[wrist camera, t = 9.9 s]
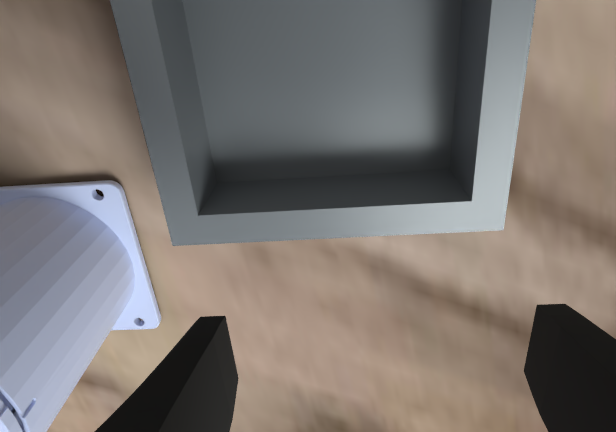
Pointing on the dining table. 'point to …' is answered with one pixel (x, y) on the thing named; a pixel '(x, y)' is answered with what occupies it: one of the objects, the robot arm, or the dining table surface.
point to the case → (327, 114)
